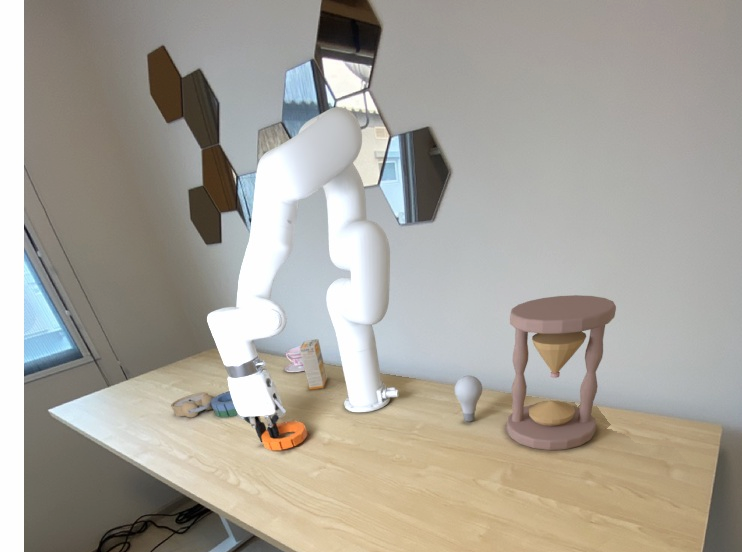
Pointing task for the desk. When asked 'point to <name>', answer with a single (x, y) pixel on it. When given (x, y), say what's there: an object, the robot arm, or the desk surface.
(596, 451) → the desk surface
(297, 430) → the orange ring
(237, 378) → the robot arm
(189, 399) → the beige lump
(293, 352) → the teacup
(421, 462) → the desk surface
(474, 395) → the lightbulb
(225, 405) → the ring stack
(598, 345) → the hourglass
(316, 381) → the supplement box
